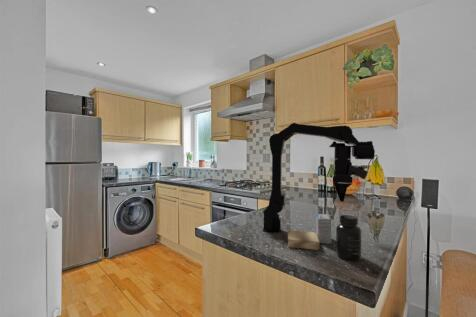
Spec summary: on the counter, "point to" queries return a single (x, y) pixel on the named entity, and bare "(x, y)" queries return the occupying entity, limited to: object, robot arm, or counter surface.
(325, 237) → the medicine box
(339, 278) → the counter surface
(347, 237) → the supplement bottle
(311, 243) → the oak block
